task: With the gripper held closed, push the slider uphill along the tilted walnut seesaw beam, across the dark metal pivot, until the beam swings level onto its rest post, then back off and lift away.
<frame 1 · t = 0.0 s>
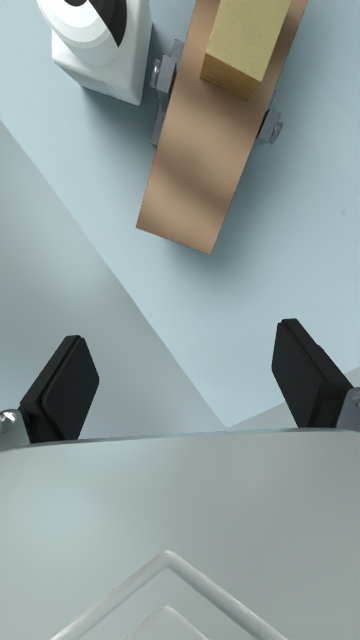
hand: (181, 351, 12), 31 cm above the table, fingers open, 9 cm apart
stand: (209, 119, 31), on the table
slider: (239, 43, 21), point 9 cm above the table, tilted 11°, touching beam
beam: (219, 100, 23), point 9 cm above the table, hinge at -10.6°, touching slider
container: (114, 55, 28), on the table
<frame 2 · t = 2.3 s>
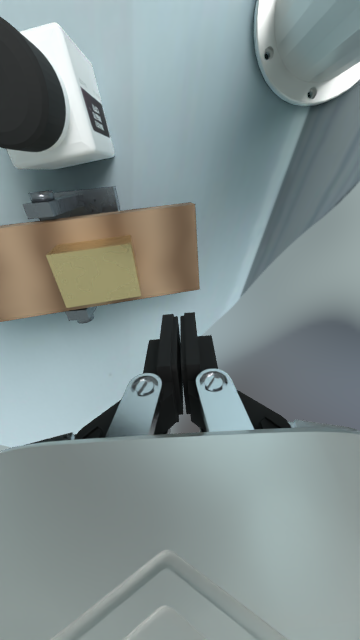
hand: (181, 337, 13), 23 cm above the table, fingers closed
stand: (90, 244, 32), on the table
slider: (101, 265, 24), point 9 cm above the table, tilted 11°, touching beam
beam: (64, 267, 25), point 9 cm above the table, hinge at -10.6°, touching slider
container: (71, 121, 26), on the table
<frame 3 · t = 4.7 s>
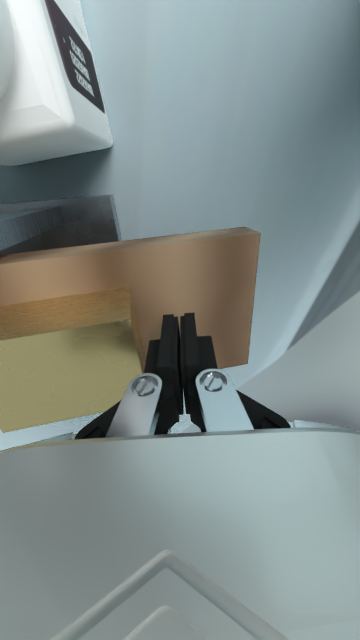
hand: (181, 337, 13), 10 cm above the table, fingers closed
stand: (73, 279, 22), on the table
slider: (76, 336, 13), point 9 cm above the table, tilted 10°, touching beam, gripper
beam: (19, 337, 14), point 9 cm above the table, hinge at -10.3°, touching slider
container: (39, 84, 15), on the table
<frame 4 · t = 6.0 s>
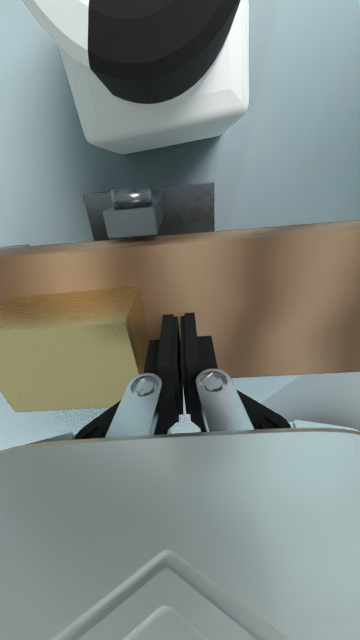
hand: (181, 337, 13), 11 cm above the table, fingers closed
stand: (159, 267, 22), on the table
slider: (88, 330, 14), point 10 cm above the table, touching beam
beam: (148, 317, 15), point 9 cm above the table, hinge at 0.7°, touching slider
container: (160, 74, 16), on the table
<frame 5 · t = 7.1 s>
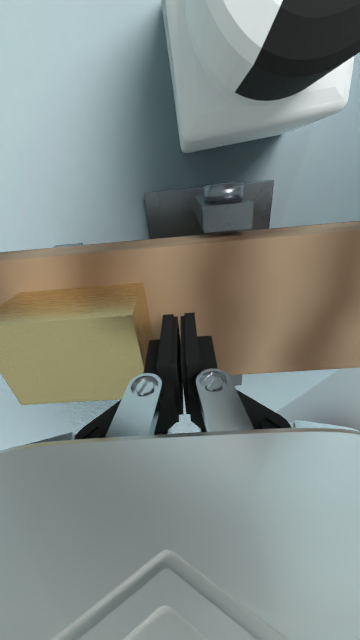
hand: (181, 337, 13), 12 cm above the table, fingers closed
stand: (208, 264, 23), on the table
slider: (92, 325, 14), point 10 cm above the table, touching gripper
beam: (224, 311, 15), point 9 cm above the table, hinge at 0.7°
container: (229, 74, 16), on the table
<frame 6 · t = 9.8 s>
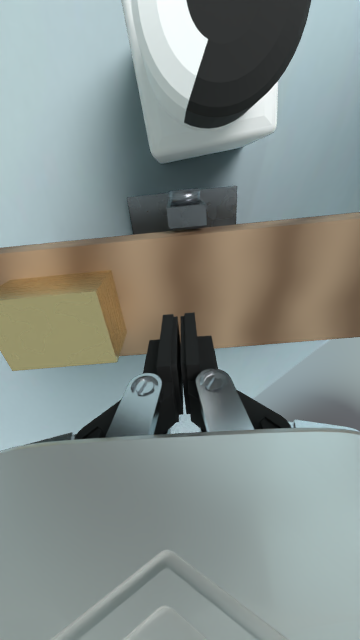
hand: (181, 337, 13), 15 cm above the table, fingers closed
stand: (186, 259, 26), on the table
slider: (72, 307, 17), point 10 cm above the table, touching beam
beam: (192, 294, 18), point 9 cm above the table, hinge at 0.7°, touching slider
container: (194, 99, 19), on the table
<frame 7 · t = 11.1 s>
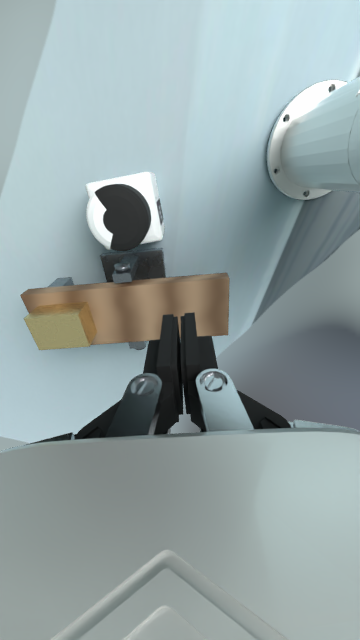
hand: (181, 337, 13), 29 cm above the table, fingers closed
stand: (139, 287, 42), on the table
slider: (68, 319, 34), point 10 cm above the table, touching beam
beam: (130, 312, 35), point 9 cm above the table, hinge at 0.7°, touching slider
container: (135, 206, 36), on the table
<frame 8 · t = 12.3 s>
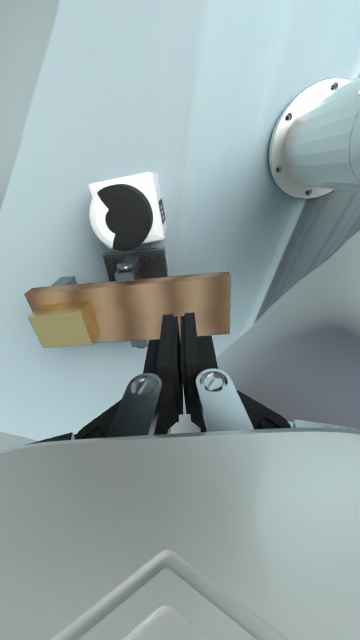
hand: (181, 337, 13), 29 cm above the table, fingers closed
stand: (141, 286, 43), on the table
slider: (71, 317, 35), point 10 cm above the table, touching beam
beam: (132, 311, 35), point 9 cm above the table, hinge at 0.7°, touching slider
container: (137, 206, 36), on the table
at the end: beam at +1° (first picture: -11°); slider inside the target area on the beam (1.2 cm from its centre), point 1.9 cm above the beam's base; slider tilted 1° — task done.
